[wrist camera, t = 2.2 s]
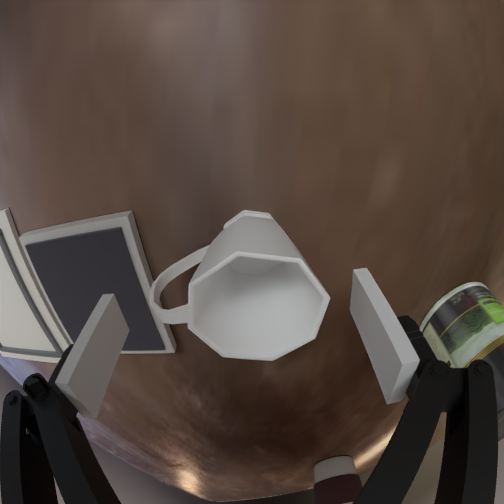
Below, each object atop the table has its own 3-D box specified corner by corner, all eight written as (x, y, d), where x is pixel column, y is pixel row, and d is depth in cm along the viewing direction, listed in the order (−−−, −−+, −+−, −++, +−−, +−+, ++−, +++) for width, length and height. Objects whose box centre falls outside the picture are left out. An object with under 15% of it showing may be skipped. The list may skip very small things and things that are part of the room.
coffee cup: (306, 458, 41) (316, 535, 28) (362, 447, 40) (380, 520, 27) (306, 474, 46) (314, 538, 33) (355, 464, 45) (368, 527, 32)
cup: (309, 268, 22) (335, 347, 15) (183, 296, 23) (164, 377, 16) (291, 178, 19) (321, 232, 12) (148, 217, 20) (104, 284, 13)
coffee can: (450, 272, 23) (536, 385, 11) (501, 288, 25) (569, 373, 12) (398, 352, 28) (445, 465, 16) (455, 355, 29) (501, 442, 17)
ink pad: (24, 232, 20) (16, 239, 19) (132, 210, 20) (125, 217, 18) (79, 345, 26) (75, 354, 25) (176, 344, 26) (174, 355, 25)
